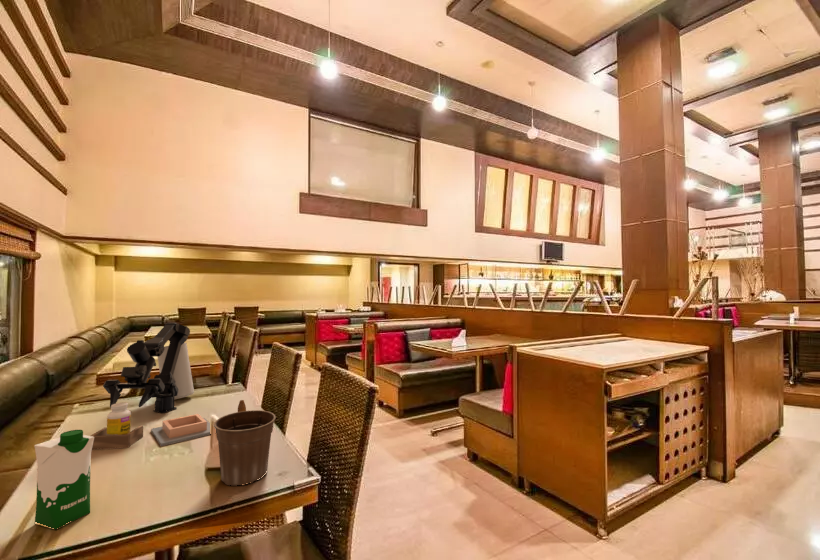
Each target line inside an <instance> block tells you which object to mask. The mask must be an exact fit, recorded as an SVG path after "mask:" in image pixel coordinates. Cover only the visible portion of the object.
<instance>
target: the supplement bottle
mask: <svg viewBox="0 0 820 560" xmlns="http://www.w3.org/2000/svg"><path fill="white" fill-rule="evenodd" d="M128 407H129V403H128V402H126V401H125V402H116V404H113V405H111V408H110V409H111V411H110V412H109V413H108V414H107V415H106V416H107V417H106V427H107V435H125V434H128V433H129V432H131V431H132V429H131V428H132V427H131V424H132V423H131V422H132V421H131V420H132V411H131V410H130V409H128Z"/></svg>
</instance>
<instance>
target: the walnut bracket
mask: <svg viewBox="0 0 820 560" xmlns="http://www.w3.org/2000/svg"><path fill="white" fill-rule="evenodd" d="M90 436H93V437H94V441H93V446H92V450H91V451H93V450H94V451H95V450H107V449H108V450H110V449H112V450H113V449H125V448H126V449H127V448H130V447H131V446H133V445H134V444H135V443H136V442H138V441H139V440H141V439H142V438H143V437H144V425H138V426H137V427H135V428H134V429H131V430H130V432H129V433H128V434H125V435H107V426H105V427H103V428H101V429H99V430H98V431H96V432H95V433H93V434H91V435H90Z"/></svg>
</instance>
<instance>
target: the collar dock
mask: <svg viewBox="0 0 820 560" xmlns="http://www.w3.org/2000/svg"><path fill="white" fill-rule="evenodd" d="M210 423H211V422H210V421H208V420H207V418H205V417H202V416H201V414H200V413H195V414H190V415H186V416H181V417H176V418H170V419H165V420H162V426H159V427H153V428H151V429H150V433H152V435H153V437H154V438H155V439H156V440H155V441H157V443H158V445H160V447H164V446H168V445H172V444H177V443H181V442H185V441H189V440H190V441H191V440H194V439H197V438H198V439H199V438H202V437H206V436H210Z"/></svg>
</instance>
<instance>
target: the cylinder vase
mask: <svg viewBox="0 0 820 560" xmlns="http://www.w3.org/2000/svg"><path fill="white" fill-rule="evenodd" d="M168 347H169V345H164V348H165V350H164V352H163V353H162V355H161V356H157V357H156V358H157V362H158V369H159V374H160V373H161V371H162V367H163V364H164V361H165V357H166V354H167V350H168ZM173 376H174V378H175V381H176V382H175V384H176V386H177V387H178V389H179V390H178V395H177V396H174V401H175V400H178V399H183V398H187V397H188V396H191V395H194V393H195V388H194V383H193V376H192V369H191V362H190V357H189V349H188V345H187V342H184V343H183V344H182V345H181V348H180V352H179V356H178V359H177V363H176V367H175V370H174V374H173Z"/></svg>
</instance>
